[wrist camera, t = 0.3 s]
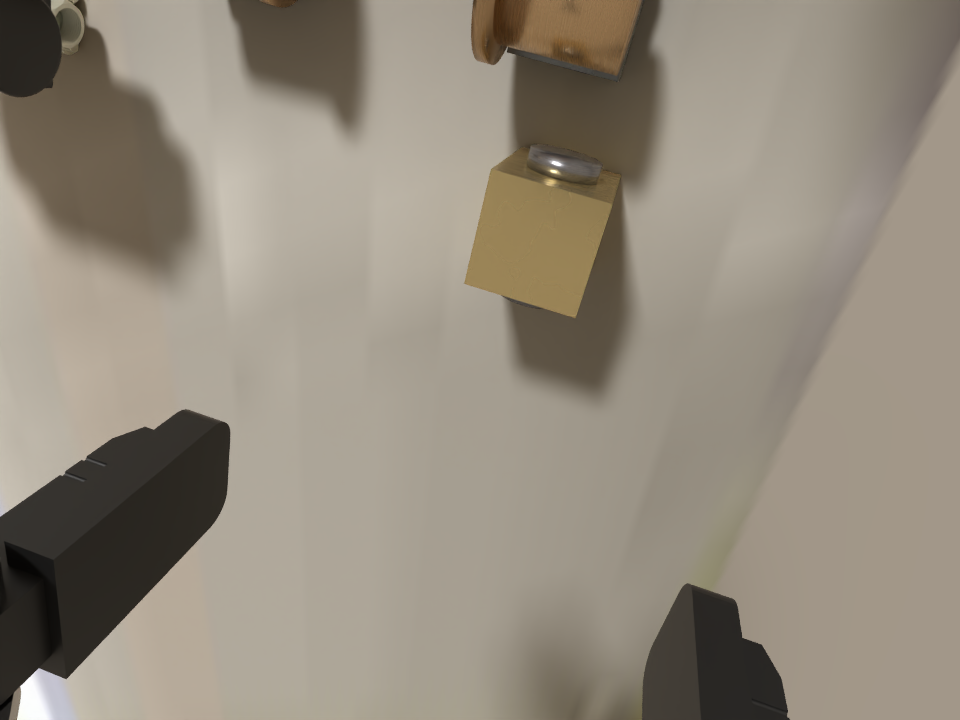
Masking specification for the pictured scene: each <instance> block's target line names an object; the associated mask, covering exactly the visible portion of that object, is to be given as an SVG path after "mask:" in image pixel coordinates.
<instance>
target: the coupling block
mask: <svg viewBox="0 0 960 720" xmlns="http://www.w3.org/2000/svg"><path fill="white" fill-rule="evenodd" d="M602 166H603V164H602V163H601V162H600V161H598V160H596V159H594V158H592V157H590V156H587V155H585V154H582V153H579V152H576V151H572V150H569V149H565V148H561V147H556V146H551V145H544V144H532V145H531V147H530V149H528V148H524V147H522V148H520V149H519V150H518V151H516V152H515V153H513V154H512V155H510V156H509V157H508V158H506V159H505V160H503V161H502V162H500V163H499V164H498V165H496V166H495V167H493V168H492V169H491V172H490V176H489V180H488V185H487V189H486V193H485V197H484V202H483V206H482V210H481V214H480V219H479V223H478V227H477V232H476V236H475V240H474V244H473V249H472V253H471V257H470V261H469V266H468V270H467V274H466V279H465V283H464V284H467V285H470V286H473V287H477V288H480V289H483V290H486V291H489V292H493V293H496V294H499V295H501V296H503V297H504V298H506V299H508V300H510V301H512V302H514V303H517V304H520V305H523V306H527V307H532V308H538V309H547V310H550V311H554V312H557V313H560V314H563V315H566V316H570V317H573V318H576V315H577V312H578V309H579V306H580V303H581V300H582V297H583V294H584V290H585V287H586V284H587V281H588V278H589V275H590V272H591V269H592V266H593V263H594V260H595V257H596V254H597V251H598V248H599V245H600V242H601V239H602V236H603V233H604V230H605V227H606V223H607V220H608V217H609V214H610V211H611V208H612V205H613V202H614V198H615V195H616V191H617V188H618V184H619V181H620V177H621V175H619V174H616V173H612V172H609V171H605V170H602Z"/></svg>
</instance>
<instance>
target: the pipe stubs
mask: <svg viewBox="0 0 960 720" xmlns="http://www.w3.org/2000/svg"><path fill="white" fill-rule="evenodd" d="M259 1H261V2H263V3H266V4H270V5H273V6H277V7H281V8H283V7H289V6H291V5H293V4H294V3H295V2H297V1H298V0H259ZM643 2H644V0H474V1H473V10H472V24H471V40H472V50H473V54H474V57H475V59H476V60H477V61H480V62H484V63H487V64H491V65H495V64H496V63H497V62H498V61H499V60H500V59H501V57H502V55H503V54H504V52H505V50H506V48H507V47H508V49H507V52H508V53H512V54H516V55H519V56H523V57H527V58H531V59H534V60H538V61H542V62H545V63H549V64H553V65H557V66H560V67H564V68H568V69H572V70H575V71H579V72H583V73H587V74H590V75H594V76H598V77H601V78H605V79H609V80H613V81H616V82H618V81H619V80H620V78H621V74H622V71H623V68H624V65H625V61H626V58H627V55H628V51H629V48H630V45H631V42H632V38H633V35H634V32H635V29H636V25H637V22H638V19H639V16H640V12H641V9H642V6H643Z"/></svg>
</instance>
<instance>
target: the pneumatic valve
mask: <svg viewBox="0 0 960 720" xmlns="http://www.w3.org/2000/svg"><path fill="white" fill-rule="evenodd" d="M77 1H78V0H0V92H1V93H4V94H6V95H9V96H13V97H28V96H32V95H34V94H37V93H38V92H40V91H41V90H43V89H44V88H52V86H53V78H54V76H55V74H56V72H57V70H58V67H59V64H60V60H61V55H62V53H64V54H67V55H72V54H73V53H76V52H77V51H78V49H79V45H78V44H79V42H80V41H81V39H82V37H83V34H84V19H83V16H82V13H81V11H80V10H79V9H78V8H77V7H76V6H75V5H73V4H74V3H76V2H77Z"/></svg>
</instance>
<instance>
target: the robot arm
mask: <svg viewBox="0 0 960 720" xmlns="http://www.w3.org/2000/svg"><path fill="white" fill-rule="evenodd" d="M229 449H230V428H229V426H228V424H227V423H225V422H222V421H219V420H217V419H214V418H211V417H208V416H205V415H202V414H199V413H196V412H193V411H190V410H186V409H185V410H181V411H179V412H178V413H176V414H175V415H173V416H172V417H171V418H169V419H168V420H167V421H165V422H164V423H162V424H161V425H160V426H158V427H157V428H156V429H154V430H153V429H150V428H147V427H143V428H140V429H138V430H135V431H132V432H129V433H126V434H124V435H121V436H118V437H115V438H112V439H111V440H109V441H108V442H107V443H105V444H104V445H102V446H101V447H99V448H98V449H97V450H95V451H94V452H92V453H91V454H89V455H88V456H87V458H86V460H85V461H83V460H81V461H79V462H78V463H77V464H75V465H74V466H72V467H71V468H69V469H68V470H67V471H65V474H64V475H63V476H61V475H59V476H58V477H57V478H55V479H54V480H52V481H51V482H49V483H48V484H47V485H45V486H44V487H42V488H41V489H39V490H38V491H37V492H35V493H34V494H32V495H31V496H29V497H28V498H27V499H25V500H24V501H22V502H21V503H19V504H18V505H17V506H15V507H14V508H12V509H11V510H9V511H8V512H7V513H5V514H4V515H2V516H1V517H0V720H17V716H18V710H19V704H20V699H21V689H20V686H21V685H22V684H23V683H24V682H25V681H26V680H27V679H28V678H29V677H30V676H31V675H32V674H33V673H34V672H35V671H36V670H37V669H38V668H40V669H43V670H45V671H48V672H50V673H52V674H55V675H57V676H60V677H62V678H65V679H67V678H68V677H69V676H70V675H71V674H72V673H73V672H74V670H75V669H76V668H77V667H78V666H79V665H80V664H81V663H82V662H83V661H84V660H85V659H86V658H87V657H88V656H89V655H90V654H91V653H92V652H93V650H94V649H95V648H96V647H97V646H98V645H99V644H100V643H101V642H102V641H103V640H104V639H105V638H106V637H107V636H108V635H109V634H110V633H111V632H112V630H113V629H114V628H115V627H116V626H117V625H118V624H119V623H120V622H121V621H122V620H123V619H124V618H125V617H126V616H127V615H128V614H129V613H130V611H131V610H132V609H133V608H134V607H135V606H136V605H137V604H138V603H139V602H140V601H141V600H142V599H143V598H144V597H145V596H146V595H147V594H148V593H149V591H150V590H151V589H152V588H153V587H154V586H155V585H156V584H157V583H158V582H159V581H160V580H161V579H162V578H163V577H164V576H165V575H166V574H167V573H168V571H169V570H170V569H171V568H172V567H173V566H174V565H175V564H176V563H177V562H178V561H179V560H180V559H181V558H182V557H183V556H184V555H185V554H186V552H187V551H188V550H189V549H190V548H191V547H192V546H193V545H194V544H195V543H196V542H197V541H198V540H199V539H200V538H201V537H202V536H203V535H204V534H205V532H206V531H207V530H208V529H209V528H210V527H211V526H212V525H213V523H214V522H215V521H216V519H217V518H218V516H219V514H220V512H221V510H222V508H223V505H224V503H225V499H226V495H227V485H228V467H229ZM787 713H788V710H787V704H786V699H785V694H784V689H783V684H782V680H781V677H780V675H779V673H778V672H777V670H776V669H775V667H774V665H773V663H772V662H771V660H770V658H769V656H768V655H767V653H766V651H765V649H764V648H763V646H762V645H761V644H758V643H755V642H752V641H749V640H747V639H744V638H742V632H741V626H740V619H739V613H738V607H737V604H736V602H735V600H734V599H732V598H729V597H726V596H723V595H720V594H717V593H714V592H711V591H709V590H706V589H703V588H700V587H697V586H694V585H691V584H685V585H684V586H683V587H682V589H681V590H680V592H679V594H678V596H677V598H676V600H675V602H674V604H673V606H672V608H671V610H670V612H669V614H668V615H667V617H666V619H665V621H664V623H663V625H662V627H661V629H660V631H659V633H658V635H657V637H656V639H655V641H654V643H653V645H652V647H651V650H650V653H649V656H648V659H647V663H646V667H645V672H644V679H643V703H642V720H790V719H789V718H787Z"/></svg>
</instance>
